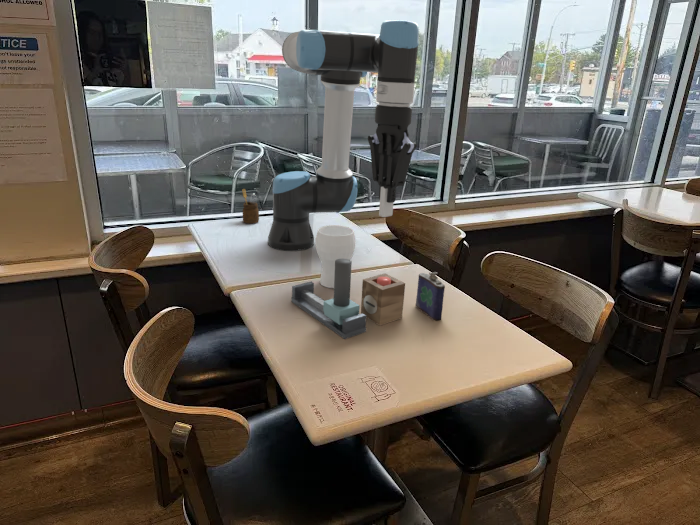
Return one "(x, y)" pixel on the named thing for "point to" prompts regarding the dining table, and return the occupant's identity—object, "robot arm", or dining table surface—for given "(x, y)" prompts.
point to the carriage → (341, 294)
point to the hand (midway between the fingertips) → (385, 215)
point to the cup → (333, 249)
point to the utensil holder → (250, 211)
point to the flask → (430, 295)
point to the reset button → (384, 281)
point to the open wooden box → (382, 299)
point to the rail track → (314, 307)
